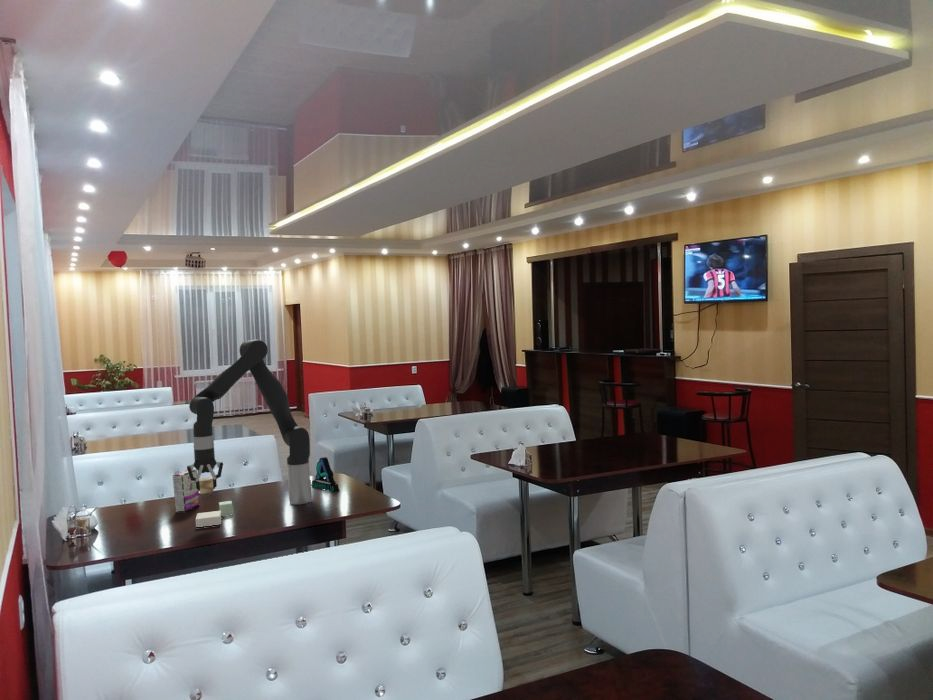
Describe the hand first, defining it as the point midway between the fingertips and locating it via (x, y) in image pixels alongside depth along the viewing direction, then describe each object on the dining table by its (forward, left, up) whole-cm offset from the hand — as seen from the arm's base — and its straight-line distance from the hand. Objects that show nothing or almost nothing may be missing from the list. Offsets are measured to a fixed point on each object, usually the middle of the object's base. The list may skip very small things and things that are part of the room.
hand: (206, 489), depth 281 cm
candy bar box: (+8, -30, -14) cm, 34 cm away
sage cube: (-7, -11, -14) cm, 19 cm away
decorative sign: (-52, -32, -14) cm, 63 cm away
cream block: (0, 0, -14) cm, 14 cm away
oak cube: (0, 0, -1) cm, 1 cm away
